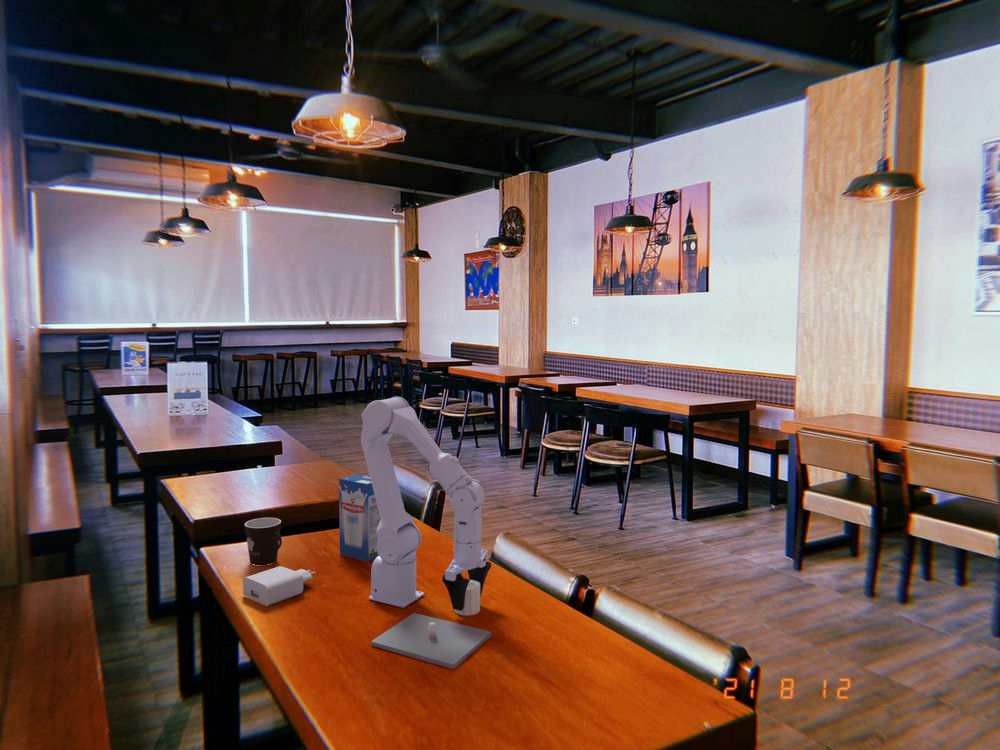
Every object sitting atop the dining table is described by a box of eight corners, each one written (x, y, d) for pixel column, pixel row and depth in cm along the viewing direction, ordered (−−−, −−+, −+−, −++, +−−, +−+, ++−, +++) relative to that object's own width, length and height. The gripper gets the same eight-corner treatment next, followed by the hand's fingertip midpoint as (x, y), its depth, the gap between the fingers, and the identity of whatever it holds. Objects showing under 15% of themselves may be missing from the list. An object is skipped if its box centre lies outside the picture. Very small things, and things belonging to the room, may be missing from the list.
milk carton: (384, 554, 172) (384, 479, 170) (367, 561, 167) (367, 484, 165) (356, 547, 177) (356, 474, 176) (339, 554, 172) (338, 478, 170)
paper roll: (449, 612, 138) (449, 586, 137) (462, 602, 143) (462, 577, 142) (471, 617, 135) (472, 591, 135) (484, 607, 140) (484, 582, 140)
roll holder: (371, 645, 123) (371, 628, 123) (414, 616, 135) (414, 600, 135) (453, 669, 115) (453, 651, 115) (491, 636, 127) (491, 619, 127)
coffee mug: (244, 558, 168) (243, 520, 167) (279, 553, 172) (279, 516, 171) (247, 574, 157) (246, 533, 157) (285, 569, 161) (284, 528, 160)
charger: (325, 586, 151) (267, 608, 139) (300, 577, 157) (242, 597, 145) (325, 566, 151) (267, 586, 139) (300, 557, 156) (242, 576, 144)
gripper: (466, 553, 130) (466, 619, 131) (500, 532, 142) (499, 593, 143) (436, 547, 133) (436, 612, 134) (472, 527, 146) (471, 587, 147)
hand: (467, 602), depth 139 cm, fingers open, 7 cm apart
